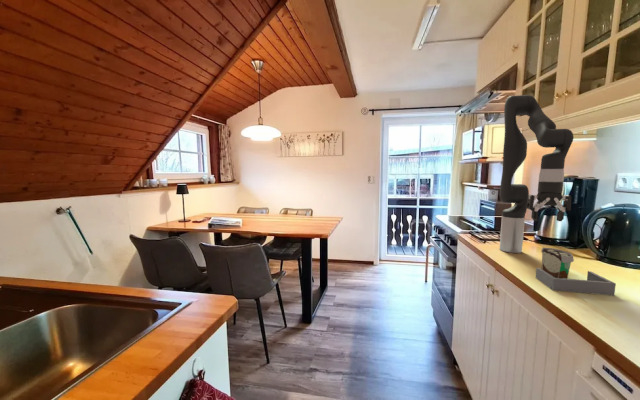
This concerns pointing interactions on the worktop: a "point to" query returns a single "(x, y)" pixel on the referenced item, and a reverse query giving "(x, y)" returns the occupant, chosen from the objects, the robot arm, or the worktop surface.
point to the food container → (556, 262)
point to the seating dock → (578, 283)
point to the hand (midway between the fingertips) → (546, 220)
